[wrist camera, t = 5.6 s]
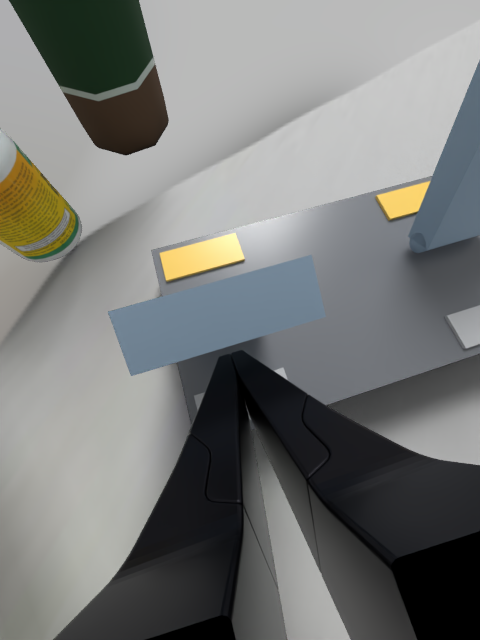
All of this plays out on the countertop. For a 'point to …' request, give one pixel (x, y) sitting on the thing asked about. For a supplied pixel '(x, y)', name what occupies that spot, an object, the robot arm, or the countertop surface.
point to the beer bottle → (101, 67)
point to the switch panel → (343, 294)
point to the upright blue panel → (453, 183)
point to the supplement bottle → (32, 209)
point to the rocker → (217, 314)
